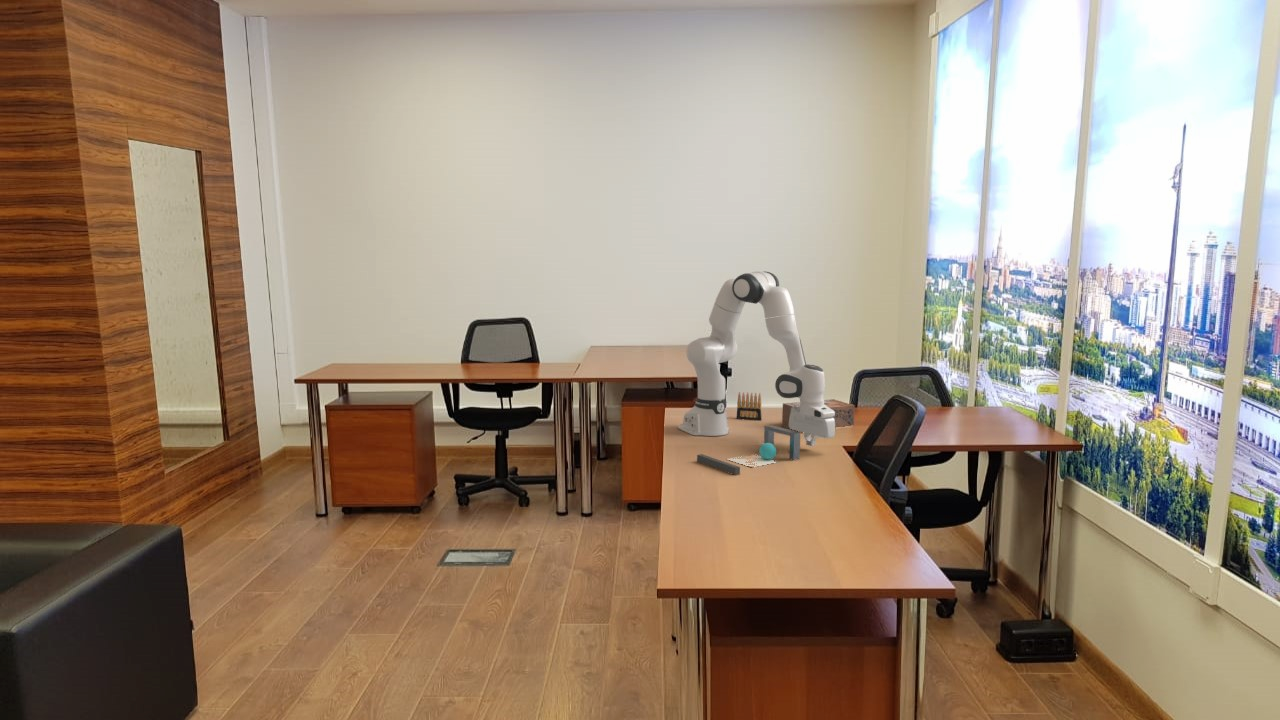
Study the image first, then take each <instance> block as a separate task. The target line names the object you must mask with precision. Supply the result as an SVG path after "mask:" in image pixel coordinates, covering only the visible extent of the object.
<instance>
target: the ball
mask: <svg viewBox="0 0 1280 720" xmlns="http://www.w3.org/2000/svg"><path fill="white" fill-rule="evenodd" d="M758 452H759V456H761V457H762V458H763V459H766V460H770V459H771V460H774V458H775V456H776V455H777V448H776V446H775V445H773V444H771V443H764V442H763V444H761V445H760V446H759V450H758Z"/></svg>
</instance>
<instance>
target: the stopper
mask: <svg viewBox="0 0 1280 720" xmlns="http://www.w3.org/2000/svg"><path fill="white" fill-rule="evenodd" d="M696 462H697V463H699V464H702V465H705V466H707V465H708V466H707V467H710V466H711V467H710V468H713V467H714V468H713V469H716V468H717V469H716V470H719V469H720V470H719V471H722V470H723V471H722V472H725V471H726V472H725V473H727V472H729V473H728V474H730V473H732V474H731V475H733V474H734V475H733V476H738V475H737V474H739V475H740V474H741V466H738V465H735V464H732V463H729V462H726V461H723V460H721V459H717V458H715V457H712V456H708V455H705V454H703V453H700V454H699V453H698V454H697V455H696Z"/></svg>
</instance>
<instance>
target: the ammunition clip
mask: <svg viewBox="0 0 1280 720" xmlns="http://www.w3.org/2000/svg"><path fill="white" fill-rule="evenodd" d="M736 408H737V409H736V418H735V419H736V420H742V419H744V420H745V421H759V422H761V421H762V395H761V392H759V393H758V395H757V392H755V393H754V395H753V392H751V393H750V394H749V392H746V395H745V392H744V391H743V392H742V396H741V392H740V391H739V392H738V394H737V407H736ZM744 420H743V421H744Z"/></svg>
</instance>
